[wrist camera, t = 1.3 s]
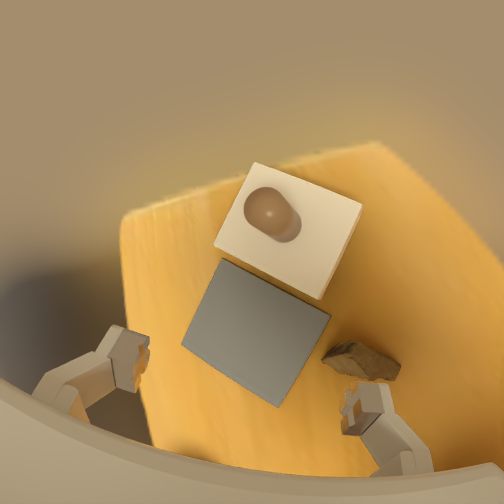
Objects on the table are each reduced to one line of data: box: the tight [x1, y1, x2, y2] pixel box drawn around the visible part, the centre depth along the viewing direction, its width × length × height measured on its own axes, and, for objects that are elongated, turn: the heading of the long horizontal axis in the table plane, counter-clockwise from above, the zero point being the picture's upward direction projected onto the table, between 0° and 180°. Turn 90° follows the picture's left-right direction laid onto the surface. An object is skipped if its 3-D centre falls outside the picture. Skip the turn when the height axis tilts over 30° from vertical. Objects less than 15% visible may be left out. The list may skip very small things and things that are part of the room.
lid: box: [213, 162, 363, 300], centre depth 37 cm, size 16×13×11 cm
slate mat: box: [181, 259, 331, 408], centre depth 47 cm, size 19×16×1 cm
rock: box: [321, 341, 401, 381], centre depth 38 cm, size 11×9×10 cm
